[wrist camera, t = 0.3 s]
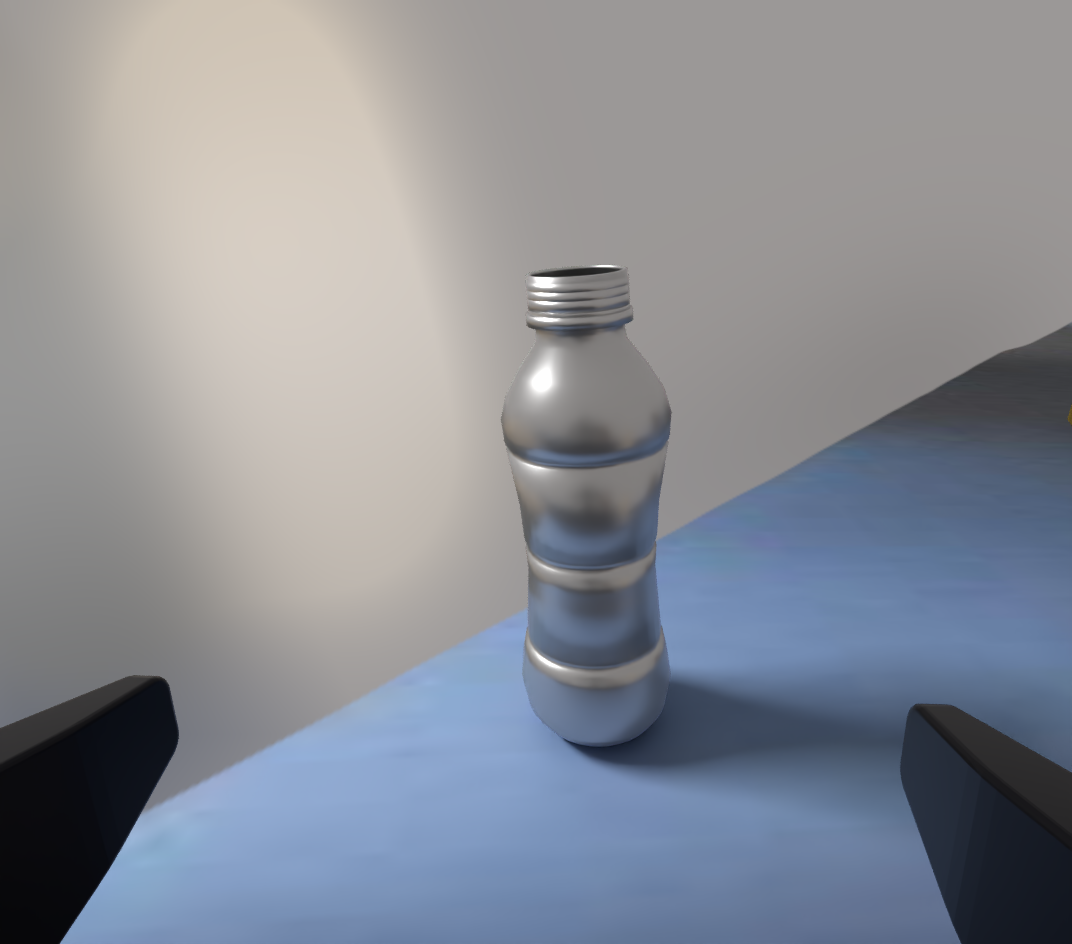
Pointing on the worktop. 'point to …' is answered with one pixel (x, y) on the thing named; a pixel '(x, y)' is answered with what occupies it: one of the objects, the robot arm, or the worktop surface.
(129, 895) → the worktop surface
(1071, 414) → the medication box
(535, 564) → the plastic bottle
